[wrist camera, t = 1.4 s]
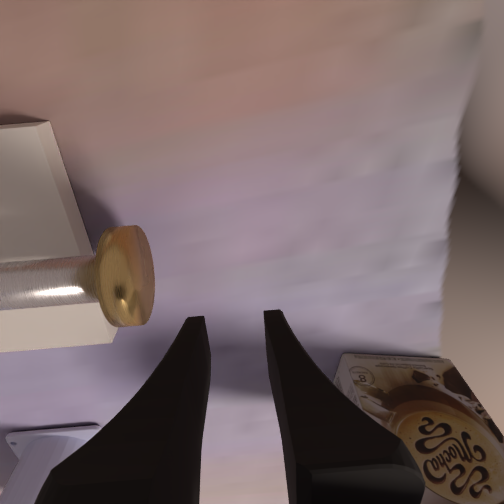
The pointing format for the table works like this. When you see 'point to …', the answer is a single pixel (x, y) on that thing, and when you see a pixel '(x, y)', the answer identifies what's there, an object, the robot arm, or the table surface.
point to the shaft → (88, 279)
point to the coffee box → (431, 423)
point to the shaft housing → (42, 238)
